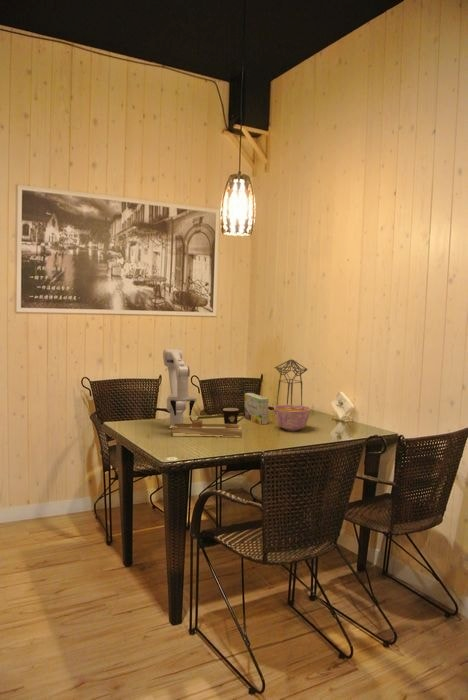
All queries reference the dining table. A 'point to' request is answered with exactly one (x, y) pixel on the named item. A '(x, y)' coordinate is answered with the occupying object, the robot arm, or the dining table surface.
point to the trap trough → (208, 429)
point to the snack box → (256, 408)
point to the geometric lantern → (288, 376)
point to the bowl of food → (292, 416)
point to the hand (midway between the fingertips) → (182, 415)
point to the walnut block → (197, 424)
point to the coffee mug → (231, 415)
